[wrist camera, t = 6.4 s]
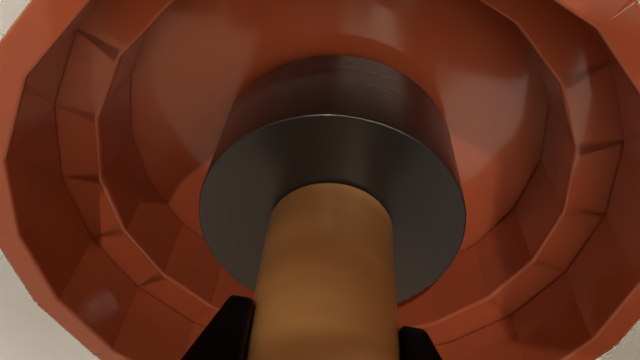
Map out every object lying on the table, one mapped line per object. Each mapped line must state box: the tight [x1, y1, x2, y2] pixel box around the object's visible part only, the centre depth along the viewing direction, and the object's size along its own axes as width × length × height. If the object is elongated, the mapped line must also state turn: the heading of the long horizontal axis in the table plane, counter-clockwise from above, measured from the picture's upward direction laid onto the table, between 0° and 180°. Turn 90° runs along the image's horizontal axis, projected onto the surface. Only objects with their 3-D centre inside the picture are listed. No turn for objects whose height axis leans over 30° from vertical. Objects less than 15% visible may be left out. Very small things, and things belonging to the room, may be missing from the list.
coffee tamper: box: [199, 55, 466, 360], centre depth 10 cm, size 6×6×10 cm
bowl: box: [0, 0, 640, 360], centre depth 13 cm, size 13×13×4 cm
